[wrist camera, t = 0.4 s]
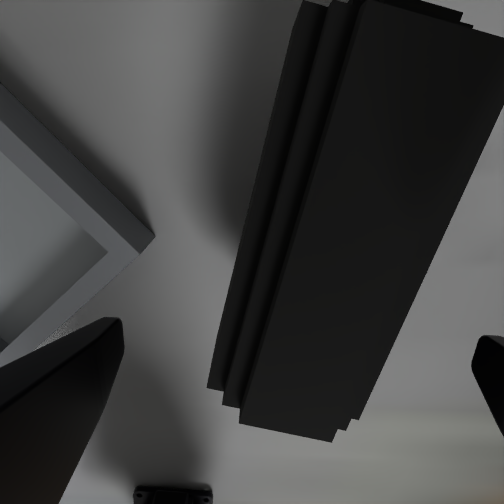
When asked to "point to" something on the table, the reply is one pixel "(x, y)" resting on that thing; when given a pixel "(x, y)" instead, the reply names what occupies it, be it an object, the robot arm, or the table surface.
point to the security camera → (350, 204)
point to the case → (52, 232)
